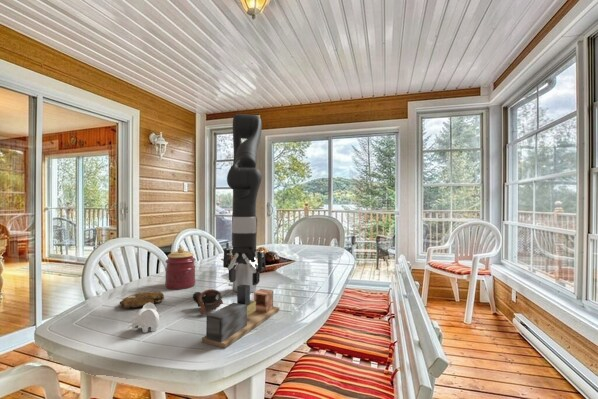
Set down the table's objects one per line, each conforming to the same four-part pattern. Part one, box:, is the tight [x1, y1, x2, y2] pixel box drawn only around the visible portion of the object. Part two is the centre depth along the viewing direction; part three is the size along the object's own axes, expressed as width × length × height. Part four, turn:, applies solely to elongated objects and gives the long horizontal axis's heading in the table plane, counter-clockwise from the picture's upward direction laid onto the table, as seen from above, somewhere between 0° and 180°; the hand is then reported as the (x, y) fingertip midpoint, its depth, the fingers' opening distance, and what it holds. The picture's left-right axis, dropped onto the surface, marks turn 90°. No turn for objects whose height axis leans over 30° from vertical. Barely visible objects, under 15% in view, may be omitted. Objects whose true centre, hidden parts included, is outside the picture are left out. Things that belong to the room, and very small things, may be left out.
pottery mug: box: [192, 288, 224, 315], centre depth 106 cm, size 12×10×8 cm
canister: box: [164, 246, 196, 290], centre depth 137 cm, size 13×13×18 cm
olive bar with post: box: [236, 284, 256, 316], centre depth 89 cm, size 18×3×9 cm, turn 155°
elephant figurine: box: [127, 302, 164, 333], centre depth 90 cm, size 8×10×7 cm
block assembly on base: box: [201, 288, 280, 349], centre depth 94 cm, size 30×8×8 cm, turn 155°
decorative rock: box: [119, 291, 165, 309], centre depth 113 cm, size 11×4×15 cm
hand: (243, 283), depth 93 cm, fingers open, 8 cm apart
